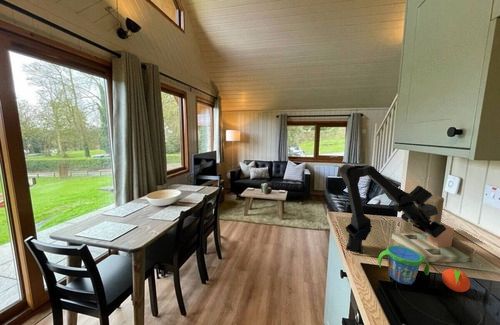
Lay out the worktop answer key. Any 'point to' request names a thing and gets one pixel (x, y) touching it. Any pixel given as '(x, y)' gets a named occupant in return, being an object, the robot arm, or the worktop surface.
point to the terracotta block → (442, 238)
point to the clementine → (456, 280)
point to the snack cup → (403, 263)
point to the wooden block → (438, 203)
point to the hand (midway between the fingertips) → (432, 234)
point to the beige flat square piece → (435, 248)
